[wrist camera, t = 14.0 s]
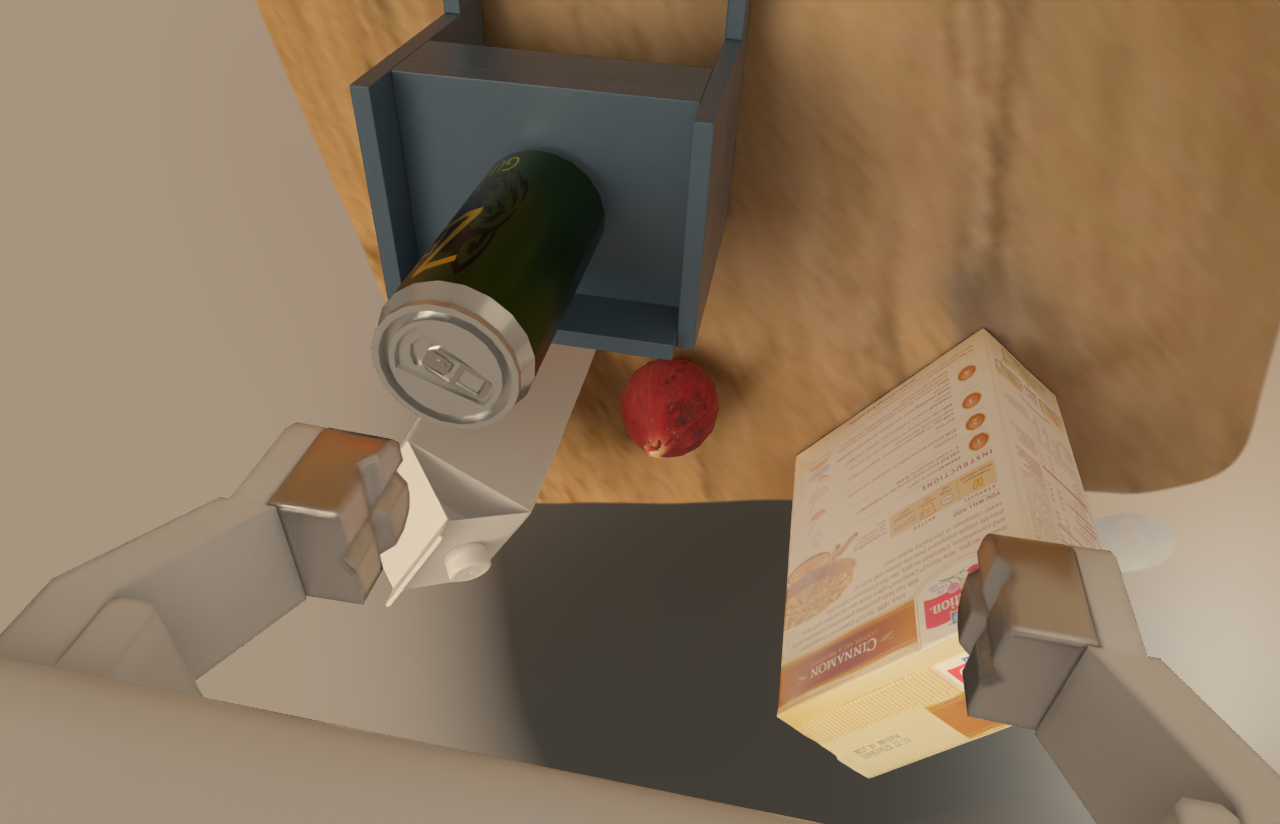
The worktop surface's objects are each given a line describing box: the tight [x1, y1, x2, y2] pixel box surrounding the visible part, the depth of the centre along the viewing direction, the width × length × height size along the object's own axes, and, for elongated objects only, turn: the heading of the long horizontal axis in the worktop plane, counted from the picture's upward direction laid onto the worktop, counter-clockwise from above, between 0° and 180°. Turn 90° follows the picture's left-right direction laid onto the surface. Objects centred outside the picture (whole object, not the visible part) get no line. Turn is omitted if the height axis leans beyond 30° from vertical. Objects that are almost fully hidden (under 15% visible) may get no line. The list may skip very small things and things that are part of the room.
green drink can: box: [371, 150, 605, 430], centre depth 32 cm, size 5×5×12 cm
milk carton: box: [380, 343, 596, 607], centre depth 49 cm, size 7×7×19 cm
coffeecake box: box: [777, 328, 1102, 778], centre depth 46 cm, size 15×7×20 cm, turn 141°
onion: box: [621, 358, 718, 459], centre depth 51 cm, size 6×6×8 cm
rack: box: [350, 0, 751, 360], centre depth 36 cm, size 20×14×14 cm
